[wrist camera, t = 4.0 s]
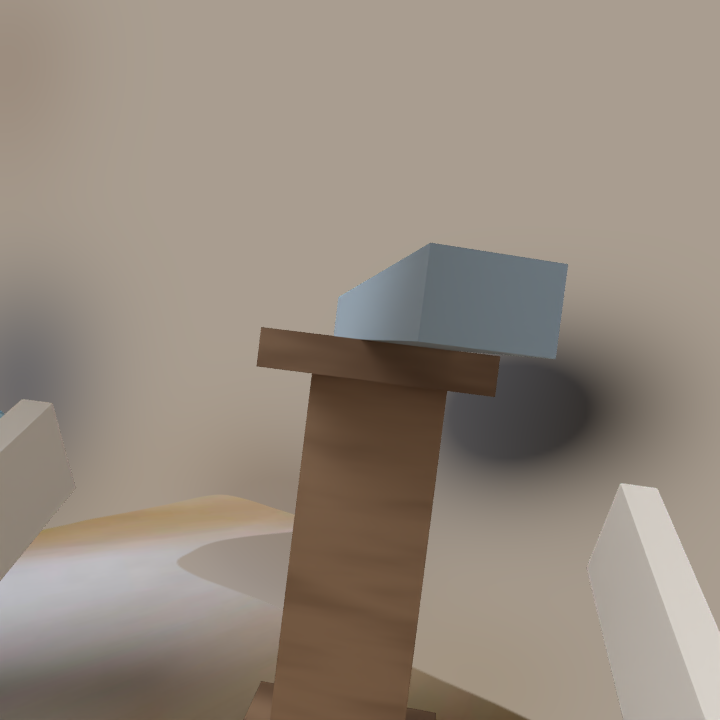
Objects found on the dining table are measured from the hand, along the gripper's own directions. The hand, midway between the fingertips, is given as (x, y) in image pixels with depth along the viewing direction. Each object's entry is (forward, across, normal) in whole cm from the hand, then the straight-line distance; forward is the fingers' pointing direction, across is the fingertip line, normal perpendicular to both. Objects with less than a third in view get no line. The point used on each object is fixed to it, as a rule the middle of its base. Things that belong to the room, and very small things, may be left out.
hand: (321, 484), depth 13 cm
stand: (+6, 0, -34) cm, 34 cm away
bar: (+16, +1, -5) cm, 17 cm away
